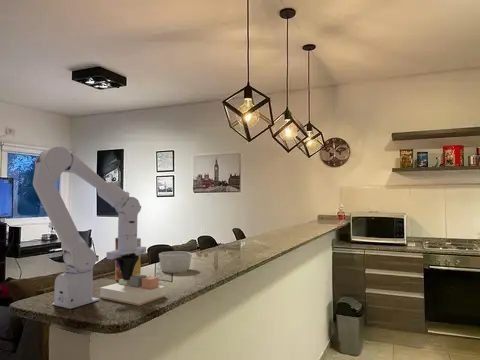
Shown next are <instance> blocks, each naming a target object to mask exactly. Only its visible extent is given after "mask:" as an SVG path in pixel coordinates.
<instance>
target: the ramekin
mask: <svg viewBox="0 0 480 360" xmlns="http://www.w3.org/2000/svg"><path fill="white" fill-rule="evenodd" d="M192 257H193V254H192V252H190V251H180V250H178V251H177V250H175V251H174V250H172V251H162V252H160V253H158V258H159V267H160V268H159V269H160V270H161V271H162V272H163V273H167V274H168V273H169V274H179V273H180V272H181V273H185V271H186V272H188V271H189V269H190V268H191V261H192ZM187 270H188V271H187Z"/></svg>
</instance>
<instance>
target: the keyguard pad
mask: <svg viewBox="0 0 480 360" xmlns="http://www.w3.org/2000/svg"><path fill="white" fill-rule="evenodd" d="M165 288H166V287H165V286H164V285H159V287H158V288H155V289H151V290H149V289H143V288H142V287H139V288H137V287H131V286H130V285H128V286H125V285H119V282H118V283H113V284H109V285H106V286H105V285H104V286H102V287H99V299H104V300H108V301H109V300H110V301H114V302H119V303H124V304H128V305H129V304H130V305H132V306H134V305H135V306H138V307H139V306H142V305H145V304H148V303H151V302H154V301H156V300H159V299H162V298H164V297H165V295H166V289H165Z"/></svg>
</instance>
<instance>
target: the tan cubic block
mask: <svg viewBox="0 0 480 360" xmlns="http://www.w3.org/2000/svg"><path fill="white" fill-rule="evenodd" d="M159 281H160V279H159V276H151V275H148V276H147V277H145V278H142V288H143V289H149V290H151V289H155V288H158V287H159V286H160V285H159Z"/></svg>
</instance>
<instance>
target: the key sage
mask: <svg viewBox="0 0 480 360" xmlns="http://www.w3.org/2000/svg"><path fill="white" fill-rule="evenodd" d="M118 283H119V285H125V286H128V285H130V280H124V279H120V280H118Z"/></svg>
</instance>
